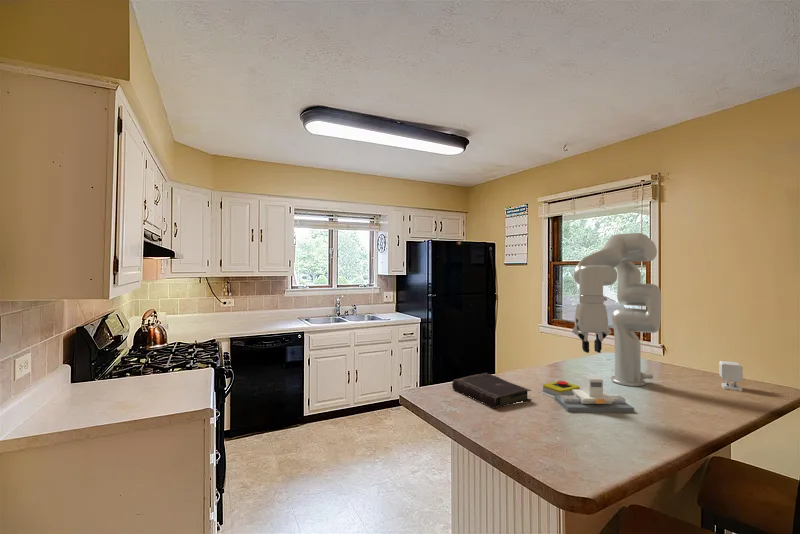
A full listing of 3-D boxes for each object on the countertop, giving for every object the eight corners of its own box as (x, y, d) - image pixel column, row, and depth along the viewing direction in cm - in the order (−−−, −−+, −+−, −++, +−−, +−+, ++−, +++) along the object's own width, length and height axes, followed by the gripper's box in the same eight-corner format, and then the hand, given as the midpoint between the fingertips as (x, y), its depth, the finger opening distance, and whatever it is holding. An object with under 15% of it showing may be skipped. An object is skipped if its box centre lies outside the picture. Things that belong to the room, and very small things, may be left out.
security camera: (739, 387, 154) (739, 362, 154) (743, 391, 148) (743, 366, 148) (719, 384, 157) (719, 360, 157) (722, 389, 151) (722, 364, 152)
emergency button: (583, 383, 148) (556, 388, 141) (583, 394, 148) (556, 400, 141) (563, 377, 156) (537, 382, 149) (564, 387, 156) (537, 393, 149)
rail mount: (615, 400, 139) (615, 392, 139) (634, 412, 127) (633, 403, 127) (554, 399, 140) (554, 391, 140) (567, 411, 128) (567, 402, 128)
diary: (494, 411, 131) (494, 397, 131) (452, 391, 153) (451, 379, 153) (533, 401, 140) (532, 388, 140) (487, 384, 162) (487, 372, 162)
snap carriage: (600, 395, 138) (599, 389, 139) (615, 406, 127) (615, 399, 128) (572, 395, 139) (572, 389, 139) (585, 406, 128) (585, 399, 128)
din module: (595, 391, 137) (595, 374, 137) (603, 397, 130) (603, 379, 131) (582, 391, 137) (582, 374, 137) (589, 396, 131) (589, 379, 131)
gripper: (609, 299, 137) (610, 349, 137) (563, 299, 138) (564, 349, 138) (620, 301, 130) (621, 354, 130) (572, 301, 131) (572, 354, 131)
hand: (591, 351), depth 134 cm, fingers open, 3 cm apart
